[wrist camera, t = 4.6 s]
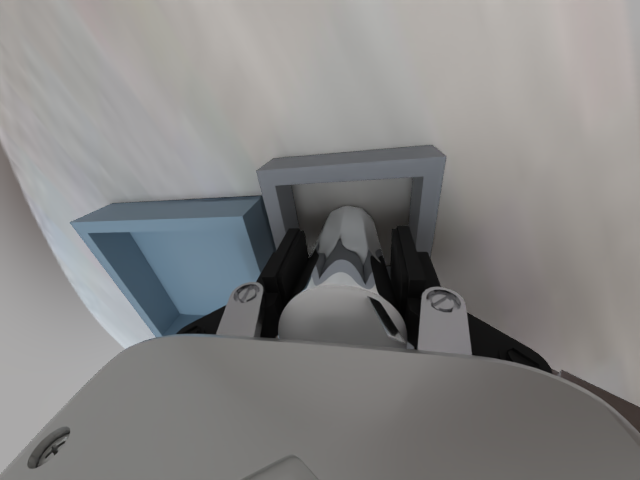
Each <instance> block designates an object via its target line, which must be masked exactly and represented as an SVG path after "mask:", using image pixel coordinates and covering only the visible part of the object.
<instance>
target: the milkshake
mask: <svg viewBox="0 0 640 480" xmlns="http://www.w3.org/2000/svg"><path fill="white" fill-rule="evenodd" d="M278 334H279V339H290V340H303V341H316V342H329V343H341V344H354V345H366V346H378V347H391V348H403V349H407V330H406V325H405V323H404V320H403V317H402V314H401V311H400V307H399V304H398V301H397V298H396V295H395V292H394V289H393V286H392V283H391V280H390V277H389V274H388V271H387V267H386V264H385V260H384V257H383V253H382V249H381V246H380V242H379V239H378V235H377V231H376V228H375V224H374V221H373V219H372V218H371V217H370V216H369V215H368V214H367V213H366V212H365V211H364V210H363V209H362V208H358V207H352V206H346V205H345V206H343V207H341V208H338V209H336V210H334V211H332V212H330V214H329V216H328V218H327V220H326V221H325V223H324V225H323V227H322V230H321V232H320V234H319V237H318V239H317V241H316V244H315V246H314V248H313V251H312V253H311V255H310V257H309V260H308V262H307V264H306V266H305V268H304V269H303V271H302V273H301V275H300V277H299V279H298V281H297V283H296V285H295V287H294V289H293V291H292V293H291V295H290V297H289V299H288V302H287V304H286V306H285V308H284V310H283V312H282V314H281V316H280V320H279V325H278Z"/></svg>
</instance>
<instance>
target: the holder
mask: <svg viewBox="0 0 640 480" xmlns="http://www.w3.org/2000/svg"><path fill="white" fill-rule="evenodd" d="M445 162H446V156H445V155H444V154H443V153H442V152H440V151H439V150H438V149H437V148H436V147H434V146H433V145H425V146H413V147H401V148H390V149H378V150H367V151H355V152H343V153H332V154H320V155H308V156H297V157H285V158H274V159H272V160H270V161H269V162H268V163H266V164H265V165H263V166H262V167H261V168H259V169H258V170H257V171H256V172H257V176H258V180H259V184H260V188H261V192H262V196H263V200H264V203H265V207H266V211H267V215H268V219H269V223H270V227H271V231H272V235H273V239H274V243H275V246H276V250H277V248H278V247H279V245H280V243H281V241H282V240H283V238H284V236H285V234H286V233H287V231H288V229H289V228H299V225H298V219H297V214H296V208H295V203H294V198H293V192H292V187H291V185H294V184H310V183H326V182H343V181H359V180H375V179H391V178H408V177H413V181H412V192H411V203H410V215H409V227H410V231H411V234H412V237H413V240H414V243H415V247H416V250H417V252H428V254H429V256H430V257H431V251H432V244H433V238H434V232H435V225H436V219H437V213H438V206H439V200H440V193H441V187H442V181H443V174H444V168H445ZM386 267H387V271H388V274H389V277H390V266H386ZM390 280H391V279H390ZM407 349H414V346H412V345H411V344H410V343H409V342H407Z"/></svg>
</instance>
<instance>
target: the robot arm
mask: <svg viewBox="0 0 640 480" xmlns="http://www.w3.org/2000/svg"><path fill="white" fill-rule="evenodd" d="M308 260H309V258H308V252H307V246H306V241H305V235H304V231H301V230H300V228H289V229H288V231H287V233H286V234H285V236H284V238H283V240H282V241H281V243H280V245H279V247H278V248H277V250H276V252H273V253H272V255H271V257H270V258H269V260H268V262H267V264H266V265H265V267H264V269H263V270H262V272H261V274H260V276H259V277H258V279H257V281H256V282H247V283H244V284H242V285H240V286H238V287H237V288H235V289H234V290H233V291H232V293H231V295H230V297H229V300H228V303H227V305H225V306H223V307H221V308H219V309H217V310H215V311H213V312H211V313H209V314H207V315H205V316H204V317H202V318H200V319H198V320H196V321H194V322H192V323H190V324H188V325H186V326H185V327H183V328H182V329H181V330H179V331H178V332H177V333H176V334H174V335H167V336H161V337H156V338H153V339H149V340H145V341H143V342H140V343H137V344H135V345H133V346H130V347H128V348H127V349H125V350H123V351H122V352H120V353H119V354H118V355H117V356H115V357H114V358H113V359H112V360H110V362H108V363H107V364H106V365H105V366H104V367H103V368H102V369H101V370H99V371H98V372H97V373H96V374H95V375H94V376H93V377H92V378H91V379H90V380H89V381H88V382H87V383H86V384H85V385H84V386H83V387H82V388H81V389H80V390H79V391H78V392H77V393H76V394H75V395H74V396H73V397H72V398H71V399H70V401H69V402H68V403H67V404H66V405H65V406H64V407H63V408H62V409H61V410H60V411H59V412H58V413H57V414H56V415H55V416H54V417H53V418H52V419H51V420H50V421H49V422H48V423H47V424H46V426H45V427H44V428H43V429H42V430H41V431H40V432H39V433H38V434H37V435H36V436H35V438H34V439H33V440H32V441H31V442H30V443H29V444H28V445H27V446H26V447H25V448H24V449H23V450H22V451H21V453H20V454H19V455H18V456H17V457H16V458H15V459H14V460H13V461H12V463H10V464H9V466H8V467H7V468H6V469H5V470H4V471H3V472H2V473H1V474H0V480H640V407H638V406H636V405H634V404H632V403H630V402H628V401H626V400H624V399H622V398H620V397H617V396H615V395H613V394H611V393H609V392H607V391H605V390H603V389H601V388H599V387H597V386H595V385H593V384H590V383H588V382H586V381H584V380H582V379H580V378H578V377H576V376H574V375H572V374H570V373H568V372H566V371H564V370H561V371H560V373H559V372H557V371H555V370H553V369H551V368H550V366H549V365H548V363H547V362H546V361H545V360H544V359H543V358H542V357H541V356H540V355H539V354H538V353H536V352H535V351H533V350H532V349H530V348H528V347H527V346H525V345H523V344H521V343H520V342H518V341H516V340H515V339H513V338H511V337H509V336H508V335H506V334H504V333H502V332H501V331H499V330H497V329H495V328H494V327H492V326H490V325H488V324H487V323H485V322H483V321H481V320H480V319H478V318H476V317H474V316H473V315H471V314H469V313H467V309H466V303H465V301H464V299H463V298H462V297H461V295H459V294H458V293H457V292H455V291H453V290H451V289H448V288H444V287H441V286H440V283H439V280H438V278H437V275H436V272H435V270H434V267H433V264H432V262H431V259H430V256H429V254H428V252H417V250H416V247H415V243H414V240H413V237H412V234H411V231H410V227H409V226H397V228H396V229H392V246H391V266H390V279H391V283H392V286H393V289H394V292H395V295H396V298H397V301H398V304H399V307H400V311H401V314H402V317H403V320H404V323H405V325H406V330H407V342H409V343H410V344H411V345H412V346H414V349H403V348H391V347H378V346H366V345H354V344H341V343H329V342H316V341H303V340H290V339H279V336H278V335H279V334H278V325H279V320H280V316H281V314H282V312H283V310H284V308H285V306H286V304H287V302H288V299H289V297H290V295H291V293H292V291H293V289H294V287H295V285H296V283H297V281H298V279H299V277H300V275H301V273H302V271H303V269H304V268H305V266H306V264H307V262H308Z"/></svg>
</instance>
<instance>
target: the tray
mask: <svg viewBox="0 0 640 480" xmlns="http://www.w3.org/2000/svg"><path fill="white" fill-rule="evenodd" d="M70 224H71V225H72V226H73V228H74V229H75V230H76V232H77V233H78V234H79V236H80V237H81V238H82V240H83V241H84V242H85V244H86V245H87V246H88V248H89V249H90V250H91V252H92V253H93V254H94V256H95V257H96V258H97V260H98V261H99V262H100V264H101V265H102V266H103V267H104V269H105V270H106V271H107V273H108V274H109V275H110V277H111V278H112V279H113V281H114V282H115V283H116V285H117V286H118V287H119V289H120V290H121V291H122V293H123V294H124V295H125V297H126V298H127V299H128V301H129V302H130V303H131V305H132V306H133V307H134V309H135V310H136V311H137V313H138V314H139V315H140V317H141V318H142V319H143V321H144V322H145V323H146V325H147V326H148V327H149V329H150V330H151V331H152V333H153V334H154V335H155V337H161V336H167V335H174V334H176V333H177V332H178V331H179V330H181V329H182V328H183V327H185V326H186V325H188V324H190V323H192V322H194V321H196V320H198V319H200V318H202V317H204V316H205V315H207V314H209V313H211V312H213V311H215V310H217V309H219V308H221V307H223V306H225V305H227V303H228V300H229V297H230V295H231V293H232V291H233V290H234V289H235V288H237V287H238V286H240V285H242V284H244V283H247V282H256V281H257V279H258V277H259V276H260V274H261V272H262V270H263V269H264V267H265V265H266V264H267V262H268V260H269V258H270V257H271V255H272V253H273V252H276V246H275V243H274V239H273V235H272V231H271V227H270V223H269V219H268V215H267V211H266V207H265V203H264V200H263V196H243V197H224V198H206V199H187V200H168V201H149V202H130V203H112V204H110V205H108V206H105V207H103V208H101V209H99V210H96V211H94V212H92V213H90V214H87V215H85V216H83V217H81V218H78V219H76V220H74V221H72V222H70ZM278 336H279V335H278Z"/></svg>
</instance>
